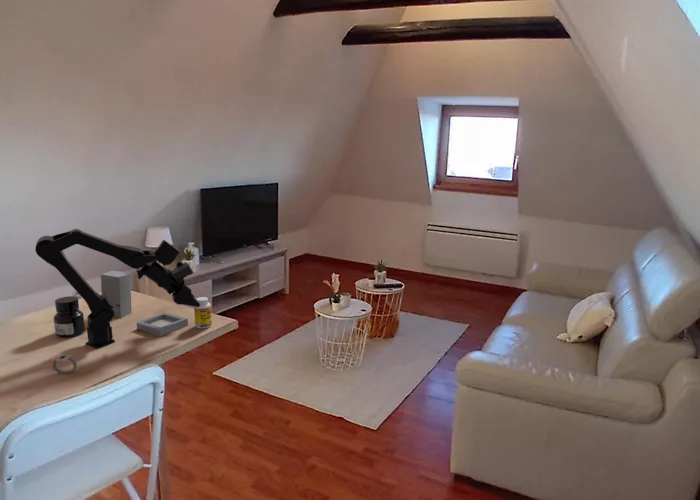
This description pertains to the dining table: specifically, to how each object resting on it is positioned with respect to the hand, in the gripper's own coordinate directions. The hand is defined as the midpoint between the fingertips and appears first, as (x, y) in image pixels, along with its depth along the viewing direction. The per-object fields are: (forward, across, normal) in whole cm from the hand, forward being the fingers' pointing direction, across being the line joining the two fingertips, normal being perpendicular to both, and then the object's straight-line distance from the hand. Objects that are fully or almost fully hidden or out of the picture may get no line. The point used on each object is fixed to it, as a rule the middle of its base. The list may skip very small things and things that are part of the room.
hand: (196, 301), depth 184 cm
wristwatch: (-23, -18, +36) cm, 46 cm away
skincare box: (-10, +26, +23) cm, 36 cm away
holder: (-1, +6, +14) cm, 15 cm away
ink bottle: (-22, +14, +34) cm, 43 cm away
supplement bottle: (+8, 0, +6) cm, 10 cm away
